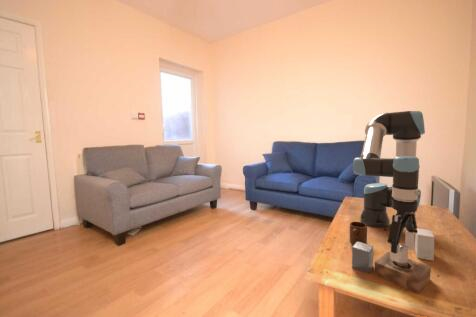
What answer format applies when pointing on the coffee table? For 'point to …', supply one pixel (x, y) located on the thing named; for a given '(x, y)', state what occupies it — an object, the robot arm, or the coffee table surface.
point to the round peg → (403, 257)
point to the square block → (362, 257)
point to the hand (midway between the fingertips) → (402, 254)
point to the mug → (358, 232)
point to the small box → (424, 244)
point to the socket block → (403, 273)
